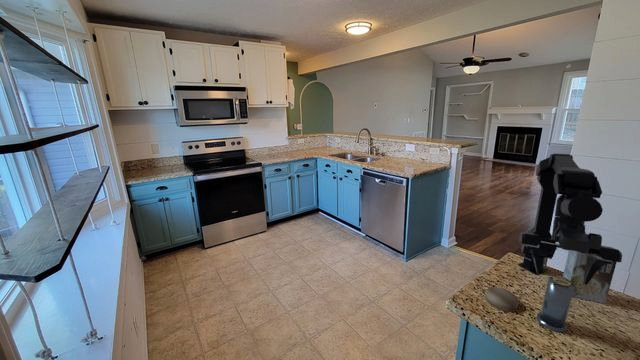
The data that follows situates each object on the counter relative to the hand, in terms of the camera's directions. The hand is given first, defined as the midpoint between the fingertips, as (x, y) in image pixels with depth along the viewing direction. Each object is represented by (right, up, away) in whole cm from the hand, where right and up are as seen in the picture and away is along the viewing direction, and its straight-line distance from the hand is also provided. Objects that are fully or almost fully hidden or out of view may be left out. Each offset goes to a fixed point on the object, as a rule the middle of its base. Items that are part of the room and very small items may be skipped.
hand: (560, 278), depth 68 cm
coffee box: (+22, -11, +17) cm, 30 cm away
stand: (-6, -12, +14) cm, 20 cm away
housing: (+3, -15, +6) cm, 16 cm away
